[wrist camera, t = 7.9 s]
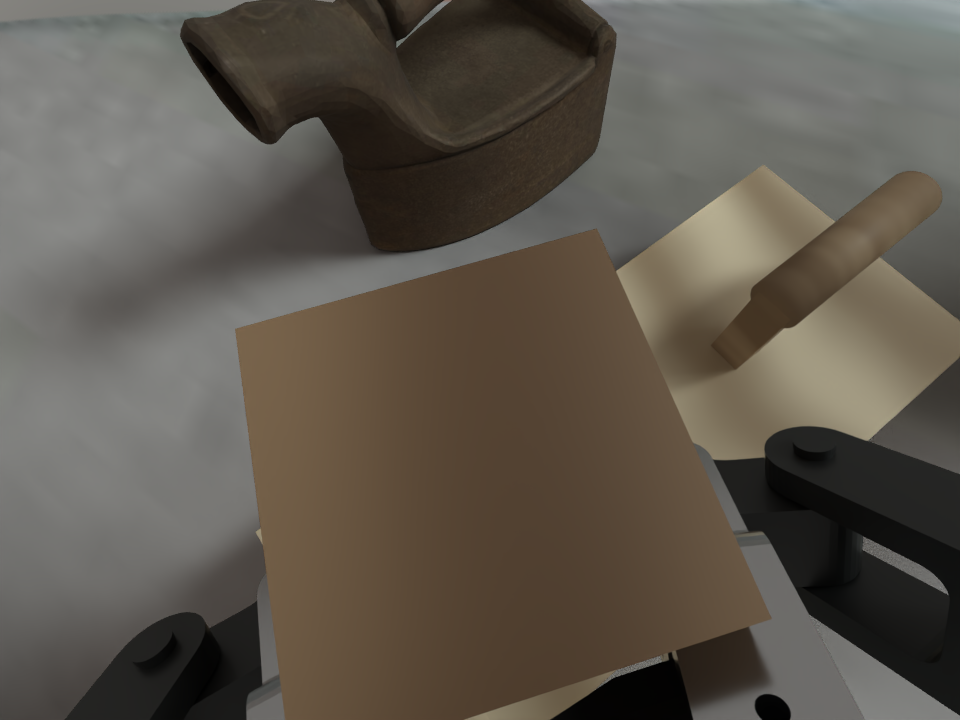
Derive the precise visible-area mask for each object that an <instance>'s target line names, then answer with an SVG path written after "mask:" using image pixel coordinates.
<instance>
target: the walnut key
mask: <svg viewBox="0 0 960 720" xmlns="http://www.w3.org/2000/svg"><path fill="white" fill-rule="evenodd" d="M235 331H236V339H237V347H238V355H239V362H240V370H241V378H242V386H243V394H244V402H245V409H246V417H247V425H248V433H249V441H250V449H251V456H252V464H253V472H254V480H255V488H256V496H257V504H258V511H259V519H260V527H261V535H262V543H263V551H264V558H265V566H266V574H267V582H268V590H269V598H270V605H271V613H272V621H273V629H274V637H275V645H276V652H277V660H278V668H279V676H280V684H281V692H282V699H283V707H284V715H285V720H465V719H468V718H471V717H474V716H477V715H480V714H483V713H486V712H489V711H492V710H495V709H498V708H501V707H504V706H507V705H510V704H514V703H517V702H520V701H523V700H526V699H529V698H532V697H535V696H538V695H541V694H544V693H547V692H550V691H553V690H556V689H559V688H562V687H565V686H569V685H572V684H575V683H578V682H581V681H584V680H587V679H590V678H593V677H596V676H599V675H602V674H605V673H608V672H611V671H614V670H617V669H621V668H624V667H627V666H630V665H633V664H636V663H639V662H642V661H645V660H648V659H651V658H654V657H657V656H660V655H663V654H666V653H669V652H672V651H676V650H679V649H682V648H685V647H688V646H691V645H694V644H697V643H700V642H703V641H706V640H709V639H712V638H715V637H718V636H721V635H724V634H728V633H731V632H734V631H737V630H740V629H743V628H746V627H749V626H752V625H755V624H758V623H761V622H764V621H767V620H770V619H772V618H771V616H770V614H769V611H768V609H767V607H766V605H765V602H764V600H763V598H762V596H761V593H760V591H759V589H758V587H757V585H756V582H755V580H754V578H753V576H752V573H751V571H750V569H749V567H748V564H747V562H746V560H745V558H744V556H743V553H742V551H741V549H740V547H739V544H738V542H737V540H736V538H735V536H734V533H733V531H732V529H731V527H730V524H729V522H728V520H727V518H726V515H725V513H724V511H723V509H722V507H721V504H720V502H719V500H718V498H717V495H716V493H715V491H714V489H713V486H712V484H711V482H710V480H709V478H708V475H707V473H706V471H705V469H704V466H703V464H702V462H701V460H700V457H699V455H698V453H697V451H696V449H695V446H694V444H693V442H692V440H691V437H690V435H689V433H688V431H687V429H686V426H685V424H684V422H683V420H682V417H681V415H680V413H679V411H678V408H677V406H676V404H675V402H674V400H673V397H672V395H671V393H670V391H669V388H668V386H667V384H666V382H665V379H664V377H663V375H662V373H661V371H660V368H659V366H658V364H657V362H656V359H655V357H654V355H653V353H652V350H651V348H650V346H649V344H648V342H647V339H646V337H645V335H644V333H643V330H642V328H641V326H640V324H639V322H638V319H637V317H636V315H635V313H634V310H633V308H632V306H631V304H630V301H629V299H628V297H627V295H626V293H625V290H624V288H623V286H622V284H621V281H620V279H619V277H618V275H617V272H616V270H615V268H614V266H613V264H612V261H611V259H610V257H609V255H608V252H607V250H606V248H605V246H604V243H603V241H602V239H601V237H600V235H599V232H598V230H597V229H593V230H590V231H586V232H582V233H579V234H575V235H572V236H568V237H564V238H561V239H557V240H554V241H550V242H546V243H543V244H539V245H536V246H532V247H528V248H525V249H521V250H518V251H514V252H510V253H507V254H503V255H500V256H496V257H492V258H489V259H485V260H482V261H478V262H474V263H471V264H467V265H464V266H460V267H456V268H453V269H449V270H446V271H442V272H438V273H435V274H431V275H428V276H424V277H420V278H417V279H413V280H410V281H406V282H402V283H399V284H395V285H392V286H388V287H384V288H381V289H377V290H374V291H370V292H366V293H363V294H359V295H356V296H352V297H348V298H345V299H341V300H338V301H334V302H330V303H327V304H323V305H320V306H316V307H312V308H309V309H305V310H302V311H298V312H295V313H291V314H287V315H284V316H280V317H277V318H273V319H269V320H266V321H262V322H259V323H255V324H251V325H248V326H244V327H241V328H237V329H235Z"/></svg>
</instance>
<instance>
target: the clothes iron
mask: <svg viewBox="0 0 960 720" xmlns="http://www.w3.org/2000/svg"><path fill="white" fill-rule="evenodd" d="M442 1H444V0H335V1H334V2H333V3H332V2H324V1H316V0H259V1H253V2H245V3H243V4H241V5H238V6H236V7H234V8H232V9H230V10H228V11H225V12H223V13H221V14H218V15H215V16H211V17H207V18H190V19H187V20H185V21H184V23H183V26H182V28H181V33H180V37H181V39H182V42H183V44H184V46H185V47H186V49H187V51H188V53H189V55H190V56H191V58H192V60H193V62H194V63H195V65H196V66H197V68H198V69H199V70H200V72H201V73H202V75H203V76H204V77H205V79H206V80H207V82H208V83H209V85H210V86H211V87H212V89H213V90H214V92H215V93H216V94H217V96H218V97H219V99H220V100H221V101H222V102H223V104H224V105H225V106H226V107H227V108H228V110H229V111H230V112H231V113H232V114H233V116H234V117H235V118H236V119H237V120H238V121H239V122H240V123H241V124H242V125H243V126H244V127H245V128H246V129H247V130H248V131H249V132H250V133H251V134H252V135H254V136H255V137H256V138H257V139H258V140H260V141H261V142H263V143H265V144H273V143H276V142H277V141H278V140H279V139H280V138H281V137H282V136H283V134H284V133H285V132H286V131H287V130H288V129H289V128H290V127H292V126H293V125H295V124H298V123H300V122H302V121H305V120H307V119H310V118H314V117H319V118H320V119H321V121H322V122H323V124H324V125H325V127H326V128H327V130H328V132H329V133H330V135H331V136H332V138H333V140H334V141H335V143H336V144H337V146H338V148H339V149H340V151H341V153H342V155H343V164H344V170H345V173H346V176H347V179H348V181H349V184H350V187H351V190H352V193H353V195H354V199H355V203H356V206H357V208H358V211H359V213H360V215H361V218H362V220H363V223H364V225H365V228H366V231H367V234H368V236H369V239H370V242H371V244H372V245H373V246H375V247H376V248H378V249H381V250H388V251H412V250H421V249H427V248H432V247H436V246H440V245H445V244H449V243H453V242H456V241H459V240H462V239H465V238H468V237H471V236H473V235H476V234H478V233H481V232H483V231H485V230H487V229H489V228H492V227H494V226H496V225H498V224H500V223H502V222H504V221H505V220H507V219H509V218H511V217H513V216H515V215H516V214H518V213H520V212H521V211H523V210H525V209H526V208H528V207H529V206H531V205H532V204H534V203H535V202H537V201H538V200H539V199H541V198H542V197H544V196H545V195H546V194H548V193H549V192H550V191H552V190H553V189H554V188H556V187H557V186H558V185H559V184H560V183H562V182H563V181H564V180H565V179H566V178H568V177H569V176H570V175H571V174H572V173H573V172H574V171H576V170H577V169H578V168H579V167H580V166H581V165H582V164H583V163H584V162H585V161H587V160H588V159H589V158H590V157H591V156H592V155H593V153H594V152H595V150H596V148H597V146H598V142H599V138H600V134H601V128H602V122H603V115H604V110H605V105H606V99H607V93H608V87H609V82H610V76H611V70H612V65H613V59H614V54H615V49H616V32H615V31H614V30H613V28H612V26H610V25H608V22H607V21H606V20H605V19H604V18H602V17H601V16H600V15H599V14H597V13H596V12H595V11H594V10H592V9H591V8H590V7H589V6H588V5H586V4H585V3H584V2H583V1H581V0H452V1H451V2H449V3H448V4H447V5H446V6H444V7H443V8H442V9H441V10H440V11H438V12H437V13H436V14H435V15H434V16H433V17H432V18H430V19H429V20H428V21H427V22H426V23H424V24H423V25H421V26H420V27H419V28H418V29H417V30H415V31H414V32H413V33H412V34H411V35H410V36H409V37H408V38H407V39H406V40H405V41H404V42H403V43H401V44H400V45H399V46H398V47H397V48H396V41H398V40H400V39H403V38H405V37H406V36H407V35H408V34H409V33H410V32H411V31H412V30H413V29H414V28H415V27H416V26H417V25H418V23H419V22H420V21H421V20H422V19H423V18H424V17H425V16H426V15H427V14H428V13H429V12H430V11H431V10H432V9H434V8H435V7H436V6H437V5H438V4H440V3H441V2H442Z"/></svg>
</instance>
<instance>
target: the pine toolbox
mask: <svg viewBox="0 0 960 720" xmlns="http://www.w3.org/2000/svg"><path fill="white" fill-rule="evenodd" d="M941 201H942V192H941V189H940V187H939V185H938V184H937V182H936V181H935V180H934V179H933V178H931V177H930V176H928V175H926V174H924V173H921V172H916V171H907V172H902V173H899V174H897V175H895V176H894V177H892V178H891V179H890V180H889V181H887V182H886V183H885V184H883V185H882V186H881V187H880V188H878V189H877V190H876V191H874V192H873V193H872V194H871V195H869V196H868V197H867V198H866V199H864V200H863V201H862V202H860V203H859V204H858V205H857V206H855V207H854V208H853V209H851V210H850V211H849V212H848V213H846V214H845V215H844V216H842V217H841V218H840V219H839V220H837V221H836V222H835V221H833V220H832V219H831V218H830V217H828V216H827V215H826V214H825V213H823V212H822V211H821V210H820V209H818V208H817V207H816V206H815V205H813V204H812V203H811V202H810V201H808V200H807V199H806V198H805V197H803V196H802V195H801V194H800V193H798V192H797V191H796V190H794V189H793V188H792V187H791V186H789V185H788V184H787V183H786V182H784V181H783V180H782V179H781V178H779V177H778V176H777V175H776V174H774V173H773V172H772V171H771V170H769V169H768V168H767V167H766V166H764V165H762V166H761V167H759V168H758V169H757V170H755V171H754V172H753V173H751V174H750V175H748V176H747V177H746V178H744V179H743V180H741V181H740V182H739V183H737V184H736V185H735V186H733V187H732V188H730V189H729V190H728V191H726V192H725V193H724V194H722V195H721V196H719V197H718V198H717V199H715V200H714V201H712V202H711V203H710V204H708V205H707V206H706V207H704V208H703V209H701V210H700V211H699V212H697V213H696V214H694V215H693V216H692V217H690V218H689V219H688V220H686V221H685V222H683V223H682V224H681V225H679V226H678V227H676V228H675V229H674V230H672V231H671V232H670V233H668V234H667V235H665V236H664V237H663V238H661V239H660V240H659V241H657V242H656V243H654V244H653V245H652V246H650V247H649V248H647V249H646V250H645V251H643V252H642V253H641V254H639V255H638V256H636V257H635V258H634V259H632V260H631V261H629V262H628V263H627V264H625V265H624V266H623V267H621V268H620V269H618V270H617V271H616V272H617V275H618V277H619V279H620V281H621V284H622V286H623V288H624V290H625V293H626V295H627V297H628V299H629V301H630V304H631V306H632V308H633V310H634V313H635V315H636V317H637V319H638V322H639V324H640V326H641V328H642V330H643V333H644V335H645V337H646V339H647V342H648V344H649V346H650V348H651V350H652V353H653V355H654V357H655V359H656V362H657V364H658V366H659V368H660V371H661V373H662V375H663V377H664V379H665V382H666V384H667V386H668V388H669V391H670V393H671V395H672V397H673V400H674V402H675V404H676V406H677V408H678V411H679V413H680V415H681V417H682V420H683V422H684V424H685V426H686V429H687V431H688V433H689V435H690V437H691V440H692V442H693V443H695V444H697V445H700V446H701V447H703V448H704V449H705V450H706V451H707V452H709V454H710V455H711V457H712V459H714V460H737V459H749V458H761V457H765V452H764V448H765V443H766V441H767V440H768V438H769V437H770V436H772V435H773V434H775V433H776V432H778V431H781V430H784V429H787V428H792V427H799V426H817V427H825V428H830V429H834V430H837V431H840V432H843V433H846V434H849V435H852V436H854V437H857V438H860V439H863V440H866V441H868V440H869V439H870V438H871V437H873V436H874V435H875V434H876V433H877V432H878V431H879V430H880V429H881V428H882V427H884V426H885V425H886V424H887V423H888V422H889V421H890V420H891V419H892V418H893V417H895V416H896V415H897V414H898V413H899V412H900V411H901V410H902V409H903V408H904V407H905V406H907V405H908V404H909V403H910V402H911V401H912V400H913V399H914V398H915V397H916V396H918V395H919V394H920V393H921V392H922V391H923V390H924V389H925V388H926V387H927V386H929V385H930V384H931V383H932V382H933V381H934V380H935V379H936V378H937V377H938V376H939V375H941V374H942V373H943V372H944V371H945V370H946V369H947V368H948V367H949V366H950V365H952V364H953V363H954V362H955V361H956V360H957V359H958V358H959V357H960V321H959V320H958V319H957V318H955V317H954V316H953V315H952V314H950V313H949V312H948V311H947V310H945V309H944V308H943V307H942V306H940V305H939V304H938V303H937V302H935V301H934V300H933V299H932V298H930V297H929V296H928V295H926V294H925V293H924V292H923V291H921V290H920V289H919V288H918V287H916V286H915V285H914V284H913V283H911V282H910V281H909V280H908V279H906V278H905V277H904V276H903V275H901V274H900V273H899V272H898V271H896V270H895V269H894V268H893V267H891V266H890V265H889V264H888V263H886V262H885V261H884V260H882V259H881V258H880V256H881V255H883V254H884V253H885V252H886V251H887V250H889V249H890V248H891V247H892V246H894V245H895V244H896V243H897V242H898V241H900V240H901V239H902V238H903V237H905V236H906V235H907V234H908V233H909V232H911V231H912V230H913V229H914V228H916V227H917V226H918V225H919V224H920V223H922V222H923V221H924V220H925V219H927V218H928V217H929V216H930V215H931V214H933V213H934V212H935V211H936V210H937V209H938V208H939V206H940V204H941ZM256 534H257V536H258V537H259V539H260V541H261V543H262V535H261V528H260V529H259V530H257V531H256ZM262 544H263V543H262ZM615 671H616V670H614V671H611V672H608V673H605V674H602V675H599V676H596V677H593V678H590V679H587V680H584V681H581V682H578V683H575V684H572V685H569V686H565V687H562V688H559V689H556V690H553V691H550V692H547V693H544V694H541V695H538V696H535V697H532V698H529V699H526V700H523V701H520V702H517V703H514V704H510V705H507V706H504V707H501V708H498V709H495V710H492V711H489V712H486V713H483V714H480V715H477V716H474V717H471V718H468V719H465V720H550V719H552V718H553V717H555V716H557V715H558V714H560V713H561V712H563V711H564V710H566V709H567V708H569V707H570V706H572V705H573V704H575V703H576V702H578V701H579V700H581V699H582V698H584V697H585V696H587V695H589V694H590V693H592V692H593V691H594V690H595V689H596V688H597V687H598V686H599V685H601V684H602V683H603V682H604V681H605V680H606V679H607V678H608V677H609V676H610V675H612V674H613V673H614V672H615Z"/></svg>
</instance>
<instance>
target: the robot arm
mask: <svg viewBox="0 0 960 720" xmlns="http://www.w3.org/2000/svg"><path fill="white" fill-rule="evenodd" d="M693 444H694V446H695V449H696V451H697V453H698V455H699V457H700V460H701V462H702V464H703V466H704V469H705V471H706V473H707V475H708V478H709V480H710V482H711V484H712V486H713V489H714V491H715V493H716V495H717V498H718V500H719V502H720V504H721V507H722V509H723V511H724V513H725V515H726V518H727V520H728V522H729V524H730V527H731V529H732V531H733V533H734V536H735V538H736V540H737V542H738V544H739V547H740V549H741V551H742V553H743V556H744V558H745V560H746V562H747V564H748V567H749V569H750V571H751V573H752V576H753V578H754V580H755V582H756V585H757V587H758V589H759V591H760V593H761V596H762V598H763V600H764V602H765V605H766V607H767V609H768V611H769V614H770V616H771V618H772V619H770V620H767V621H764V622H761V623H758V624H755V625H752V626H749V627H746V628H743V629H740V630H737V631H734V632H731V633H728V634H724V635H721V636H718V637H715V638H712V639H709V640H706V641H703V642H700V643H697V644H694V645H691V646H688V647H685V648H682V649H679V650H676V651H672V652H669V653H666V654H663V655H661V660H662V662H661V663H658V664H655V665H652V666H649V667H646V668H643V669H640V670H637V671H634V672H631V673H627V674H624V675H621V676H618V677H615V678H613V679H611V680H610V681H608V682H607V683H605V684H604V685H602V686H601V687H599V688H598V689H596V690H595V691H593V692H592V693H590V694H589V695H587V696H585V697H584V698H582V699H581V700H579V701H578V702H576V703H575V704H573V705H572V706H570V707H569V708H567V709H566V710H564V711H563V712H561V713H560V714H558V715H557V716H555V717H553V718H552V719H550V720H865V719H864V717H863V715H862V713H861V711H860V709H859V707H858V706H857V704H856V702H855V700H854V698H853V696H852V694H851V692H850V691H849V689H848V687H847V685H846V683H845V681H844V679H843V677H842V676H841V674H840V672H839V670H838V668H837V666H836V664H835V663H834V661H833V659H832V657H831V655H830V653H829V651H828V649H827V648H826V646H825V644H824V642H823V640H822V638H821V636H820V634H819V633H818V631H817V629H816V627H815V625H814V623H813V621H812V619H811V618H810V616H809V615H811V616H812V617H814V618H815V619H817V620H818V621H820V622H821V623H823V624H824V625H826V626H827V627H829V628H830V629H832V630H833V631H835V632H836V633H838V634H839V635H841V636H842V637H844V638H845V639H847V640H848V641H850V642H851V643H853V644H854V645H856V646H857V647H858V648H860V649H861V650H863V651H864V652H866V653H867V654H869V655H870V656H872V657H873V658H875V659H876V660H878V661H879V662H881V663H882V664H884V665H885V666H887V667H888V668H890V669H891V670H893V671H894V672H896V673H897V674H899V675H900V676H902V677H903V678H905V679H906V680H908V681H909V682H911V683H912V684H914V685H915V686H917V687H918V688H920V689H921V690H922V691H924V692H925V693H927V694H928V695H930V696H931V697H933V698H934V699H936V700H937V701H939V702H940V703H942V704H943V705H945V706H946V707H948V708H949V709H951V710H952V711H954V712H955V713H957V714H958V715H960V474H957V473H954V472H952V471H949V470H946V469H943V468H941V467H938V466H935V465H932V464H929V463H927V462H924V461H921V460H918V459H916V458H913V457H910V456H907V455H904V454H902V453H899V452H896V451H893V450H891V449H888V448H885V447H882V446H879V445H877V444H874V443H871V442H868V441H866V440H863V439H860V438H857V437H854V436H852V435H849V434H846V433H843V432H840V431H837V430H834V429H830V428H825V427H817V426H799V427H792V428H787V429H784V430H781V431H778V432H776V433H775V434H773V435H772V436H770V437H769V438H768V440H767V441H766V443H765V448H764V452H765V457H761V458H749V459H737V460H714V459H712V457H711V455H710V454H709V452H707V451H706V450H705V449H704V448H703V447H701V446H700V445H697V444H695V443H693ZM863 536H864V537H866V538H868V539H870V540H872V541H874V542H876V543H878V544H880V545H882V546H884V547H886V548H888V549H890V550H892V551H894V552H896V553H898V554H900V555H902V556H904V557H906V558H908V559H910V560H912V561H914V562H916V563H918V564H920V565H921V566H923V567H925V568H926V569H928V570H929V571H931V572H932V573H933V574H934V575H935V576H936V577H937V578H938V579H939V580H940V581H941V582H942V583H943V585H944V586H945V588H946V589H947V591H948V594H949V595H947V594H945V593H943V592H941V591H939V590H938V589H936V588H934V587H932V586H930V585H928V584H926V583H924V582H922V581H920V580H918V579H917V578H915V577H913V576H911V575H909V574H907V573H905V572H903V571H901V570H899V569H897V568H896V567H894V566H892V565H890V564H888V563H886V562H884V561H882V560H880V559H878V558H876V557H875V556H873V555H871V554H869V553H867V552H865V551H863V550H862V547H863ZM65 720H285V715H284V707H283V699H282V692H281V684H280V676H279V668H278V660H277V652H276V645H275V637H274V629H273V621H272V613H271V605H270V598H269V590H268V582H267V574H265V575H264V577H263V578H262V580H261V582H260V584H259V586H258V590H257V601H256V602H255V603H254V604H252V605H251V606H249V607H247V608H246V609H244V610H242V611H240V612H239V613H237V614H235V615H233V616H231V617H230V618H228V619H226V620H224V621H222V622H220V623H219V624H217V625H215V626H213V627H211V628H210V629H209V628H208V626H207V624H206V623H205V621H204V620H203V618H202V617H201V616H200V615H198V614H196V613H190V612H186V613H179V614H175V615H172V616H169V617H166V618H164V619H162V620H160V621H158V622H156V623H154V624H153V625H151V626H149V627H148V628H146V629H145V630H143V631H142V632H141V633H139V634H138V635H137V636H136V637H135V638H133V639H132V640H131V641H130V642H129V643H128V644H127V645H126V646H125V647H124V648H123V649H122V650H121V652H120V653H119V654H118V655H117V656H116V658H115V659H114V660H113V661H112V662H111V664H110V665H109V666H108V667H107V669H106V670H105V671H104V672H103V673H102V675H101V676H100V677H99V678H98V680H97V681H96V682H95V683H94V684H93V686H92V687H91V688H90V689H89V691H88V692H87V693H86V694H85V696H84V697H83V698H82V699H81V700H80V702H79V703H78V704H77V705H76V707H75V708H74V709H73V710H72V711H71V713H70V714H69V715H68V716H67V718H66V719H65Z"/></svg>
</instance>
